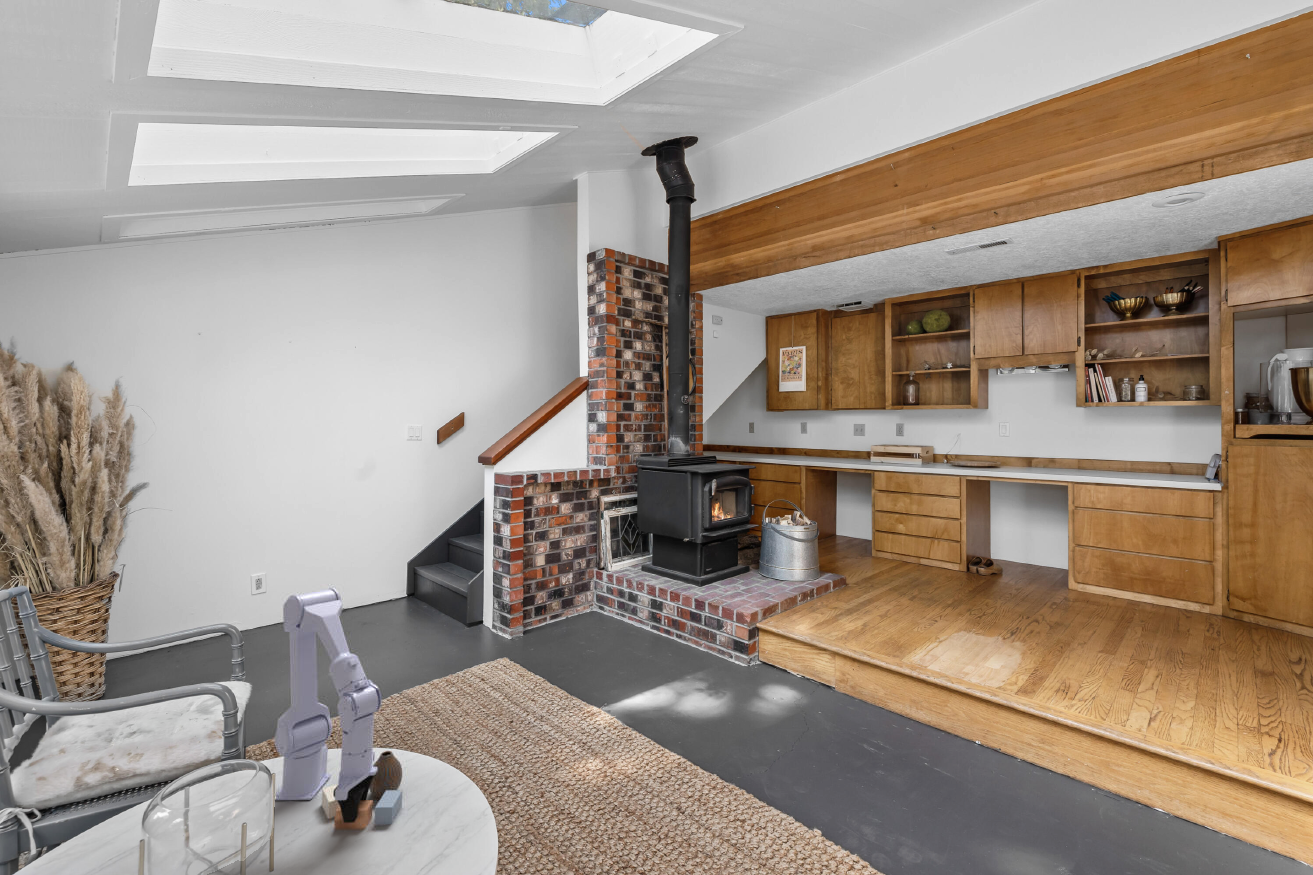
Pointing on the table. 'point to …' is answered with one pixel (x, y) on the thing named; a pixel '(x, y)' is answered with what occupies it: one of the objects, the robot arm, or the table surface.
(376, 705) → the robot arm
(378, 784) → the vase
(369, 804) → the terracotta brick
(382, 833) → the table surface
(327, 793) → the cream brick
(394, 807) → the slate brick
